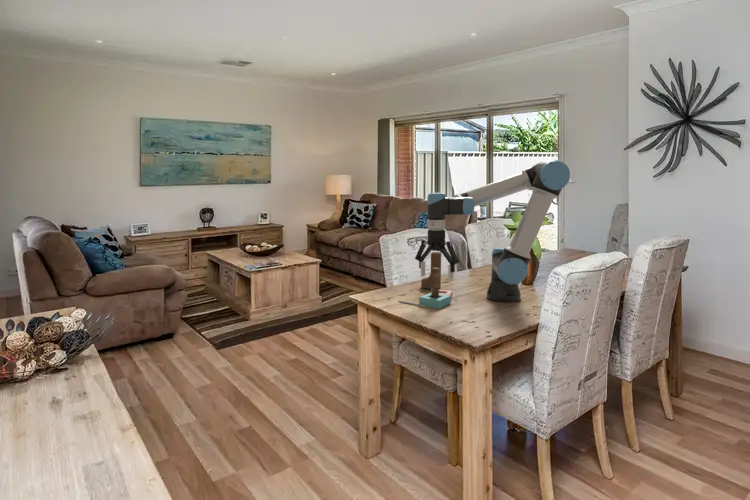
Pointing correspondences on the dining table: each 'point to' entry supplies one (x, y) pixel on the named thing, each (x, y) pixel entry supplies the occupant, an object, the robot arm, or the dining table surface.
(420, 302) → the teal bead
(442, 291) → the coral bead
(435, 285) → the brown square post
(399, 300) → the grey cord
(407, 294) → the dining table surface
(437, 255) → the wooden block
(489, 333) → the dining table surface
